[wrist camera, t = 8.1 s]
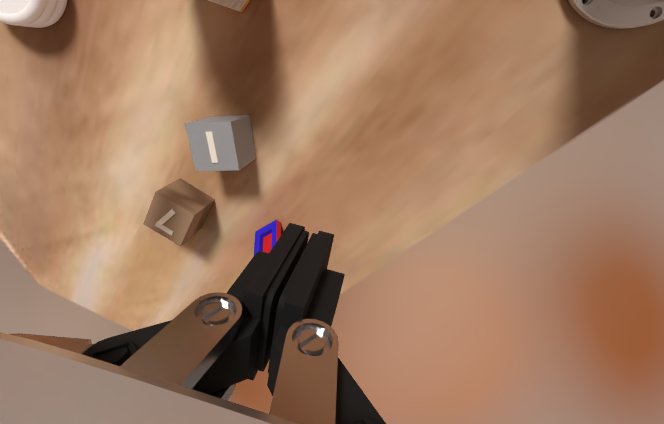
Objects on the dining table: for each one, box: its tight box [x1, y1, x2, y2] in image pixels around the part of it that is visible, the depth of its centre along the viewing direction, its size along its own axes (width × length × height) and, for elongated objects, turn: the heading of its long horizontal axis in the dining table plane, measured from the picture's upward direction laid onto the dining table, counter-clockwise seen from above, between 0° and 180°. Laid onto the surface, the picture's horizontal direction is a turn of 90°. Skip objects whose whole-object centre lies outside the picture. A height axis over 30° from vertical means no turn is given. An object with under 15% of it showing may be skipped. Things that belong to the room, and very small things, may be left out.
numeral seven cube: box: [144, 178, 215, 246], centre depth 41 cm, size 5×5×5 cm
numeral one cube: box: [185, 115, 256, 171], centre depth 37 cm, size 5×5×5 cm
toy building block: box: [254, 220, 282, 256], centre depth 41 cm, size 4×4×8 cm
